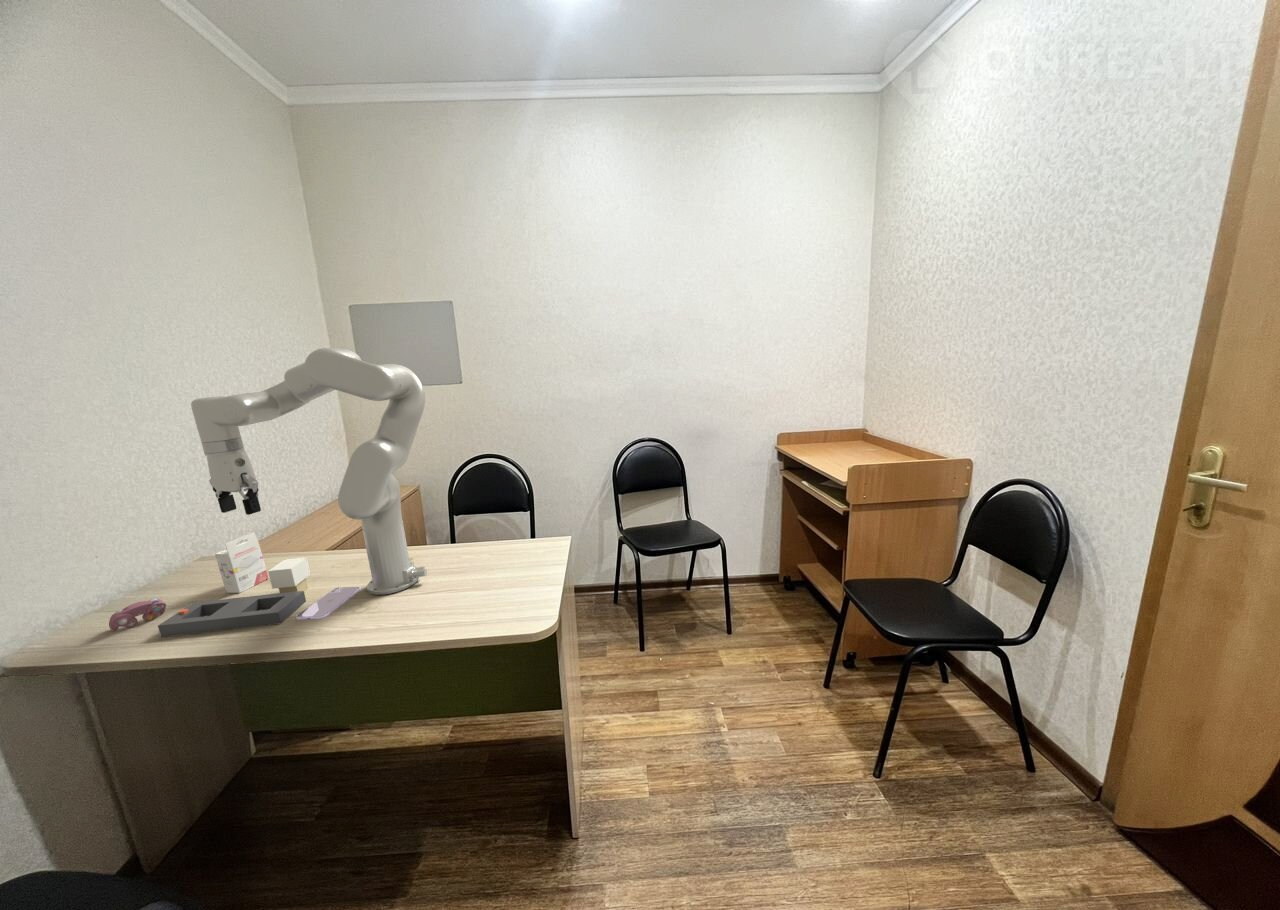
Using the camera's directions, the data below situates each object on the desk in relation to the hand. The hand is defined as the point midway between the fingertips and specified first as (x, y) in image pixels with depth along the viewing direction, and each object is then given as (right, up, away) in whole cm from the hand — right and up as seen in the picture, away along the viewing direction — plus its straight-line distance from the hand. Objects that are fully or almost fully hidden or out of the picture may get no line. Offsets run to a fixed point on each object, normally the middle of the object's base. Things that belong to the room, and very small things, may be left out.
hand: (241, 511), depth 120 cm
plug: (+9, -23, +6) cm, 25 cm away
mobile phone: (+23, -24, 0) cm, 33 cm away
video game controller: (-21, -27, -4) cm, 35 cm away
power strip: (+3, -26, -5) cm, 26 cm away
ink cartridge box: (-9, -23, +12) cm, 27 cm away
